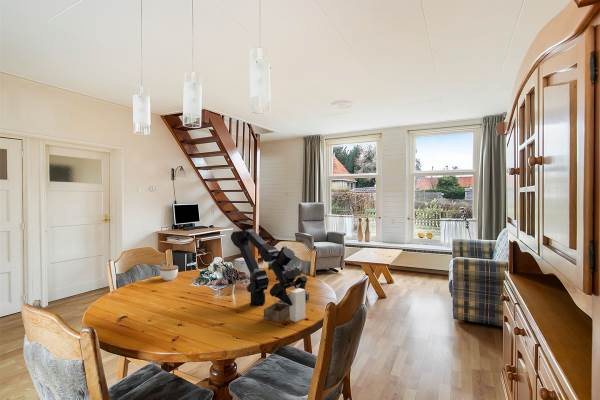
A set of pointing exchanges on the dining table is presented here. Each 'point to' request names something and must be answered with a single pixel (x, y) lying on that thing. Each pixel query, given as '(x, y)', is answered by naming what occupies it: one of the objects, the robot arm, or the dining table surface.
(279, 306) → the tray
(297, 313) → the white rectangular block
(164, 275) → the white round bowl
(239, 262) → the light bulb box
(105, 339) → the dining table surface
